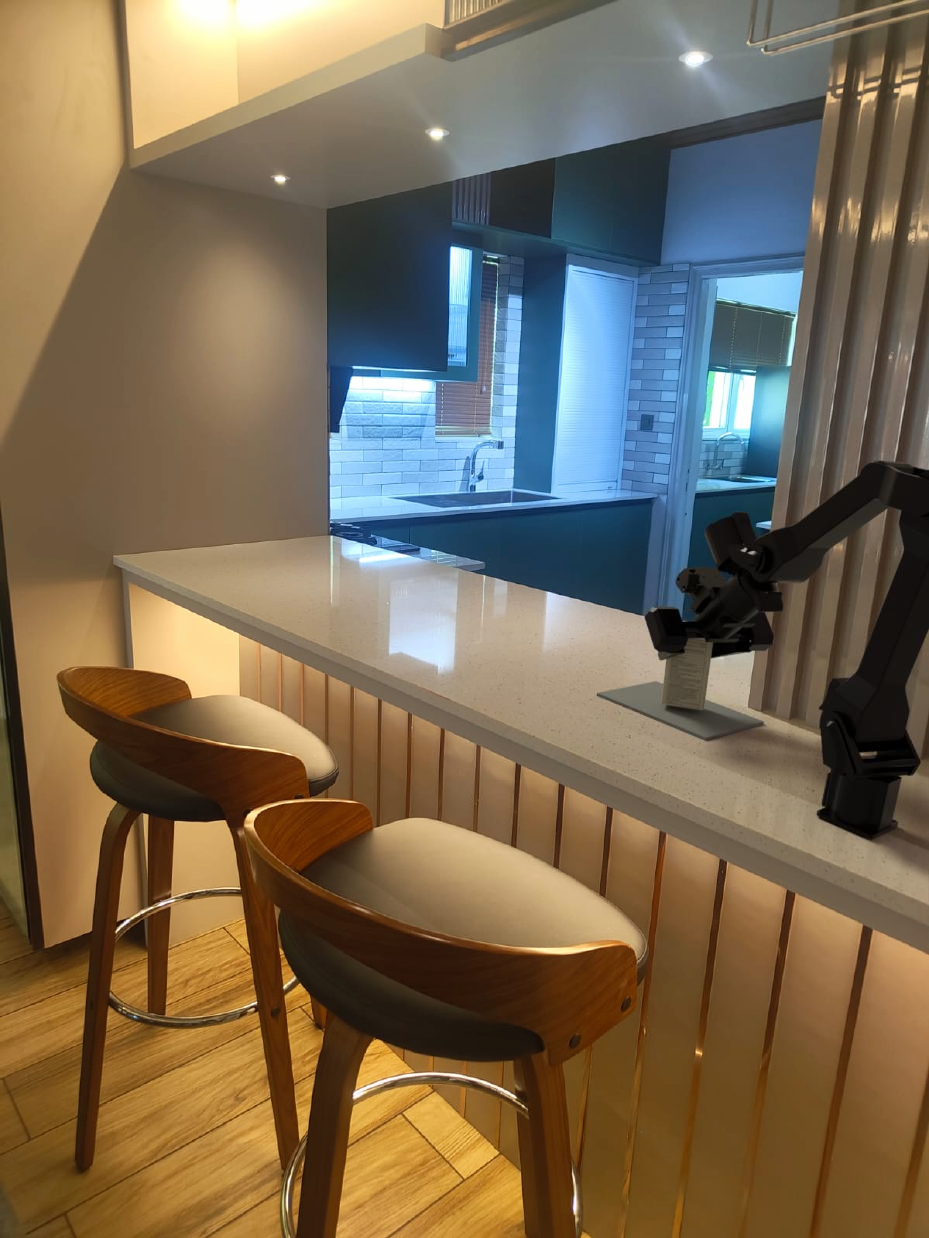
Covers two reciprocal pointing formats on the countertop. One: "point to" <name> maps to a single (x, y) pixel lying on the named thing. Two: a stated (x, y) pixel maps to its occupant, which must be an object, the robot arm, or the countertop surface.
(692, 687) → the skincare box
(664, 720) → the slate mat
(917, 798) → the countertop surface
